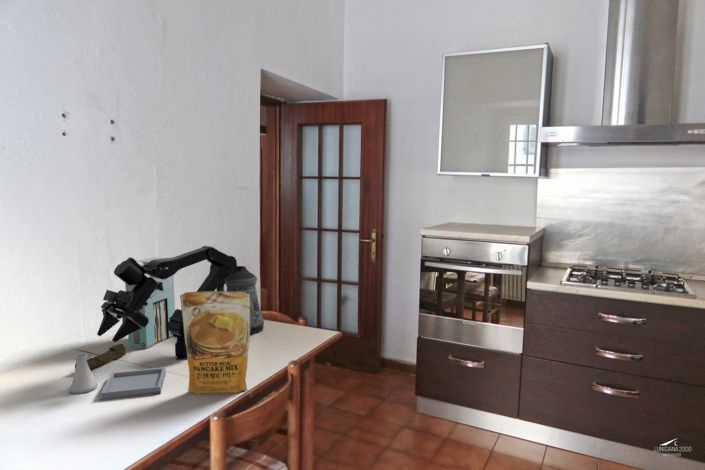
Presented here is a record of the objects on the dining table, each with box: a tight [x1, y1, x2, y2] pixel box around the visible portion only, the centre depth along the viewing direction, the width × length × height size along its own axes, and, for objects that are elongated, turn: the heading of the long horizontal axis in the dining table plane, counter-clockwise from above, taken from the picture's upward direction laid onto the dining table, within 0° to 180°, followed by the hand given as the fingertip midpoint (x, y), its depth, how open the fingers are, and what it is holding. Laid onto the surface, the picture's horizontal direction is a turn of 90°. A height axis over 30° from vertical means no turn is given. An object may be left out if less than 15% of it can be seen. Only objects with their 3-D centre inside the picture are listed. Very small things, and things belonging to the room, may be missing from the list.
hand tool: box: [74, 342, 127, 371], centre depth 162 cm, size 19×4×5 cm, turn 158°
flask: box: [68, 352, 98, 394], centre depth 142 cm, size 7×7×10 cm
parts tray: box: [100, 366, 167, 401], centre depth 144 cm, size 15×15×2 cm
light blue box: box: [124, 256, 176, 350], centre depth 183 cm, size 16×8×30 cm, turn 162°
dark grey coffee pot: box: [215, 265, 265, 336], centre depth 196 cm, size 16×19×25 cm
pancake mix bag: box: [179, 290, 251, 395], centre depth 140 cm, size 7×19×28 cm, turn 92°
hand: (105, 338), depth 147 cm, fingers open, 9 cm apart
